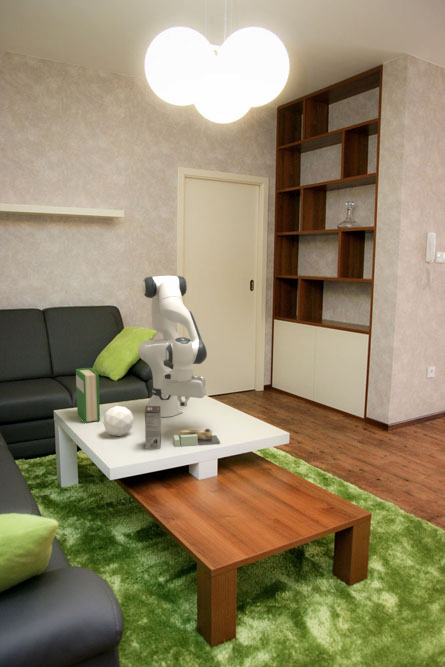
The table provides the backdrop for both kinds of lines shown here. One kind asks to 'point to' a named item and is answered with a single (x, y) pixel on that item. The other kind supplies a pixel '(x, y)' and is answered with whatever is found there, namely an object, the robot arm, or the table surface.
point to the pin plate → (209, 441)
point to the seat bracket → (185, 440)
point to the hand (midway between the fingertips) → (183, 405)
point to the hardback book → (88, 394)
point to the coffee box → (153, 427)
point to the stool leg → (198, 433)
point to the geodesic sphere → (118, 420)
